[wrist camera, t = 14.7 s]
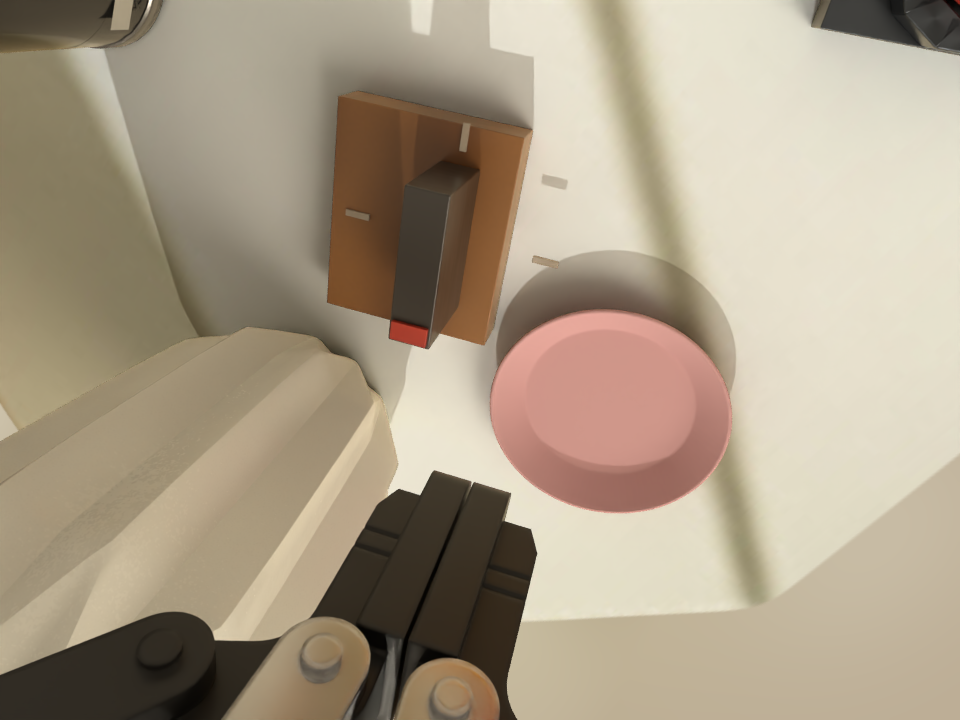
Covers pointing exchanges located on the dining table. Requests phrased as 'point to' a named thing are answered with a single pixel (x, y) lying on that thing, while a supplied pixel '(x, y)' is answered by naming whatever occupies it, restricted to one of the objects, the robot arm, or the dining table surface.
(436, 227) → the bar knob
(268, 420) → the vase
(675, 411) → the plate
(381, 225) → the oak panel
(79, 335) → the dining table surface
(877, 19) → the button block
